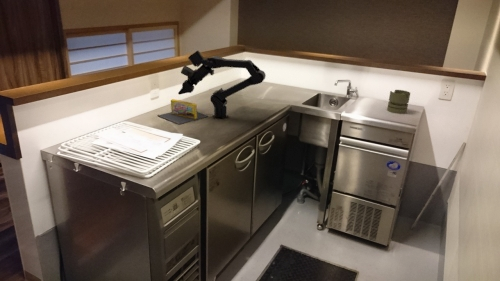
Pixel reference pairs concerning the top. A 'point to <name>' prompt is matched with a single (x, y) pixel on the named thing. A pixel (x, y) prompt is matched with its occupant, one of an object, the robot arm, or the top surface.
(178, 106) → the candy box
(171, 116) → the mat
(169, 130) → the top surface
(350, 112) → the top surface
